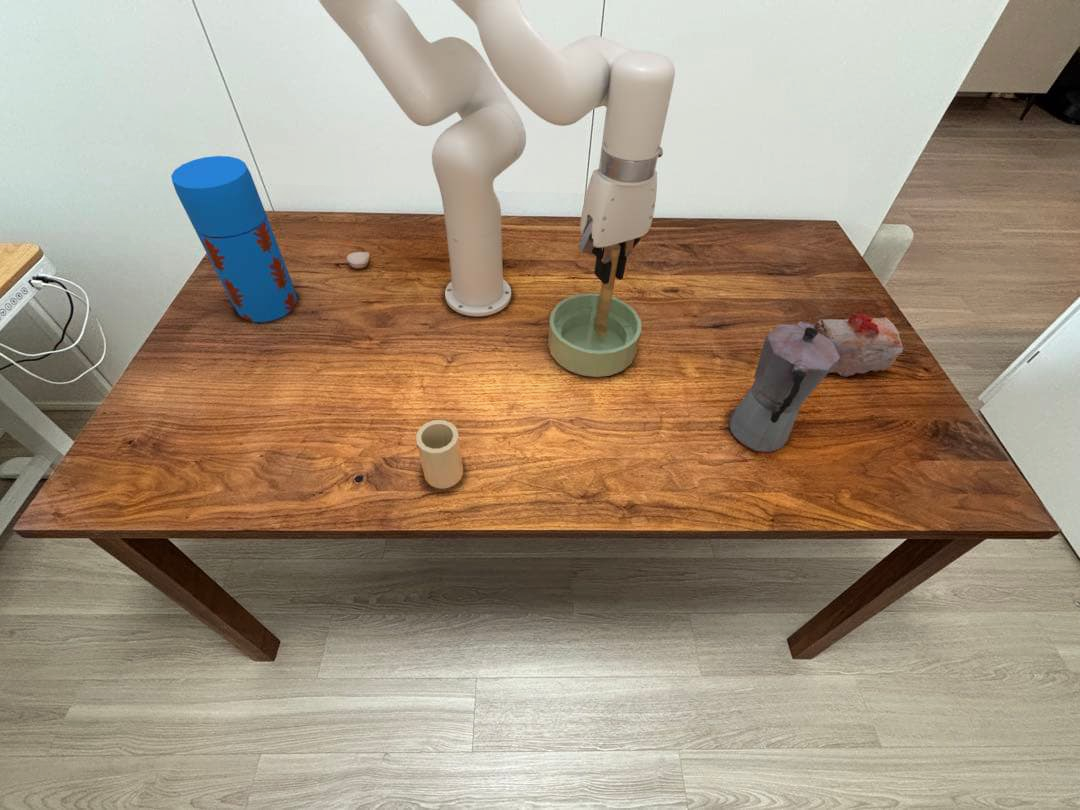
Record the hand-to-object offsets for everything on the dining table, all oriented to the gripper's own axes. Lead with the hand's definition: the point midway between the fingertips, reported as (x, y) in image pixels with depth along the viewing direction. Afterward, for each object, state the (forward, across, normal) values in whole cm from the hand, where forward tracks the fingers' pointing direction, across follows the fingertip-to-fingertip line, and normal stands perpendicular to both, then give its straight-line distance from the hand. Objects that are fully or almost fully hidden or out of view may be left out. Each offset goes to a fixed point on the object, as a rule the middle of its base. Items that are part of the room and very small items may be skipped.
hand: (608, 276), depth 85 cm
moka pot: (+14, -11, +29) cm, 34 cm away
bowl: (+14, +2, +1) cm, 14 cm away
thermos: (+15, +50, -36) cm, 63 cm away
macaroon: (+15, +31, -41) cm, 53 cm away
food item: (+14, -35, +24) cm, 45 cm away
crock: (+14, +35, +14) cm, 40 cm away
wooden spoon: (+12, 0, 0) cm, 12 cm away
